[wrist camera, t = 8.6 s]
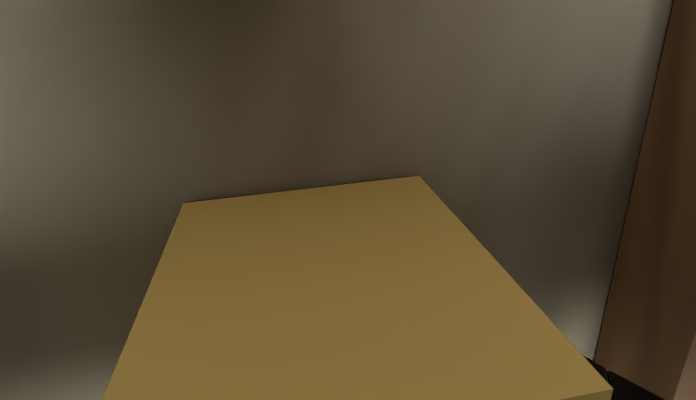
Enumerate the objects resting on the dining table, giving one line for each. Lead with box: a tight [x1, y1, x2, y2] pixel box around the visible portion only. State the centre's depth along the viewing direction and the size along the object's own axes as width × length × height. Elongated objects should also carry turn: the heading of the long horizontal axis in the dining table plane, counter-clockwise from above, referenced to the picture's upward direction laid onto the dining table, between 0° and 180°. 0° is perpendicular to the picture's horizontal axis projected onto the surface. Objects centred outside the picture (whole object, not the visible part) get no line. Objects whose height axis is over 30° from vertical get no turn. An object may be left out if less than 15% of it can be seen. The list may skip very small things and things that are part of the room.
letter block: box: [102, 176, 613, 400], centre depth 8 cm, size 5×5×6 cm
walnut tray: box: [594, 0, 696, 400], centre depth 9 cm, size 18×17×2 cm
